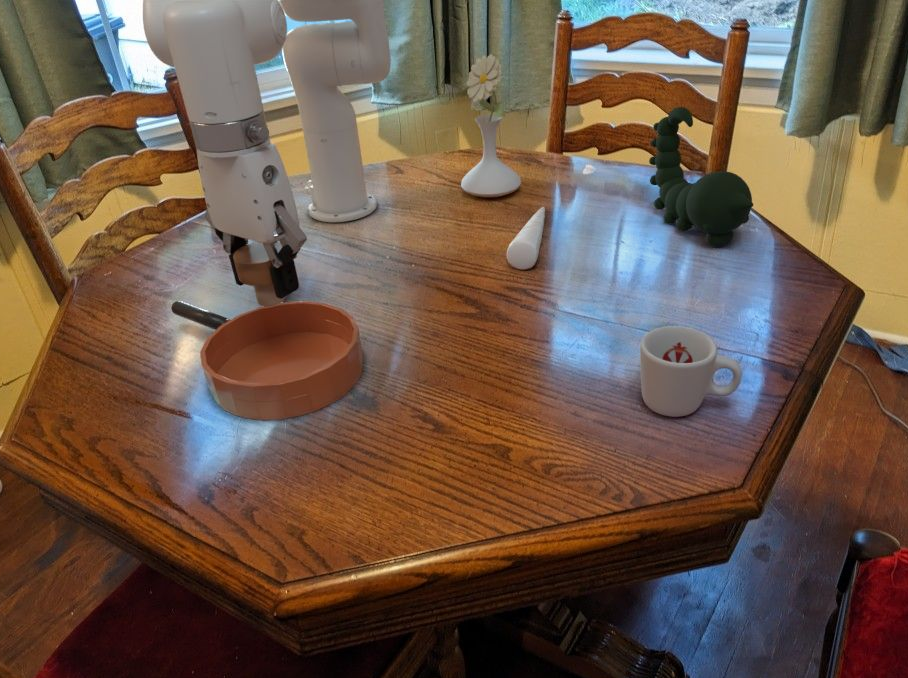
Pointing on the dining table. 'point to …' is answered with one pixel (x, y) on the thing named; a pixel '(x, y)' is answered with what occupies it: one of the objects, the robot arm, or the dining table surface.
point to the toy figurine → (696, 188)
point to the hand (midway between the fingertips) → (267, 285)
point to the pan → (283, 360)
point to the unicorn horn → (527, 242)
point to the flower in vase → (488, 135)
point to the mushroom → (257, 272)
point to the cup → (681, 370)
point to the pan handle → (198, 315)
